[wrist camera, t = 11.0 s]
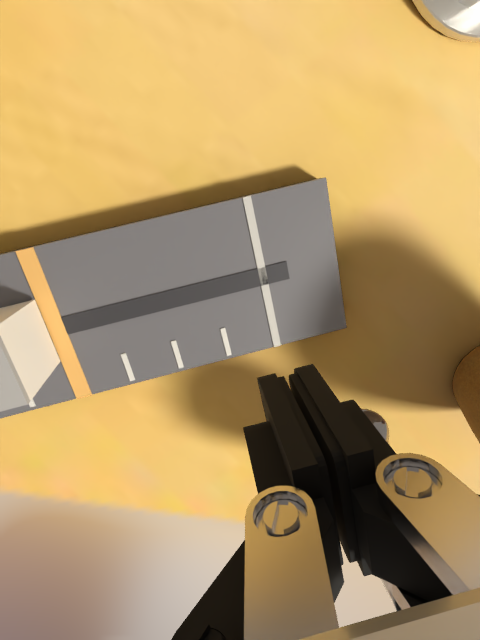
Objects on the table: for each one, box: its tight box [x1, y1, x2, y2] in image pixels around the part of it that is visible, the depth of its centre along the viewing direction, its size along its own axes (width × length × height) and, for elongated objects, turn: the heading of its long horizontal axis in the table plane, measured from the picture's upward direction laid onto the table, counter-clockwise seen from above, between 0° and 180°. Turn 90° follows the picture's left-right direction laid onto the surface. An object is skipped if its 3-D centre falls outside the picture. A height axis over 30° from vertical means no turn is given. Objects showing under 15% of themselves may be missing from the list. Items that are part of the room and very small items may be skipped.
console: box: [0, 178, 347, 418], centre depth 30 cm, size 12×30×2 cm, turn 103°
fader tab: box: [0, 300, 60, 412], centre depth 25 cm, size 5×3×6 cm, turn 13°
